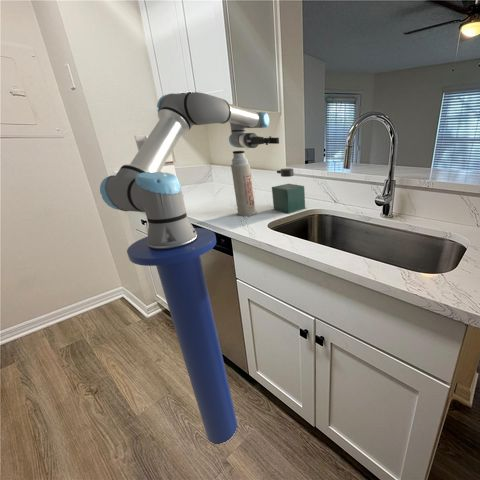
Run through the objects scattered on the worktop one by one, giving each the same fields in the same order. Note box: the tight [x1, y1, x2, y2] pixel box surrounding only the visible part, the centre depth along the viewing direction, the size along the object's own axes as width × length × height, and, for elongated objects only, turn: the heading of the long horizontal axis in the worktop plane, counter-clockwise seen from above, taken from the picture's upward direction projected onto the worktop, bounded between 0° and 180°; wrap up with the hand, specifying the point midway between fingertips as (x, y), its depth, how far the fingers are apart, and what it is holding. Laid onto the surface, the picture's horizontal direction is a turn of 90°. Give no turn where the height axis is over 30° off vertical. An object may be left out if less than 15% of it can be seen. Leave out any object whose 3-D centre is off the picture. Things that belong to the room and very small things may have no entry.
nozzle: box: [276, 167, 295, 178], centre depth 123 cm, size 10×6×3 cm, turn 49°
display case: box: [134, 134, 178, 178], centre depth 147 cm, size 11×11×35 cm
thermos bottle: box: [230, 150, 256, 217], centre depth 117 cm, size 8×8×28 cm
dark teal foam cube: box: [271, 183, 306, 214], centre depth 127 cm, size 13×11×11 cm
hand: (277, 140), depth 125 cm, fingers closed
